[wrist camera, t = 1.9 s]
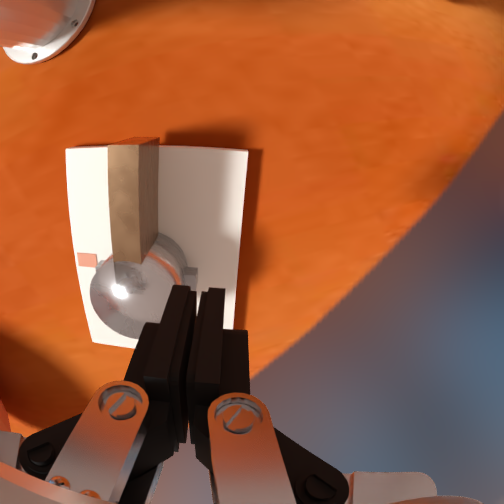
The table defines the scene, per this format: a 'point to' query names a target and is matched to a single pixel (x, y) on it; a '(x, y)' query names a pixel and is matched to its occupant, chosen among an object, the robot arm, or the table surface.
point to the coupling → (136, 244)
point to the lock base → (164, 218)
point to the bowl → (4, 419)
